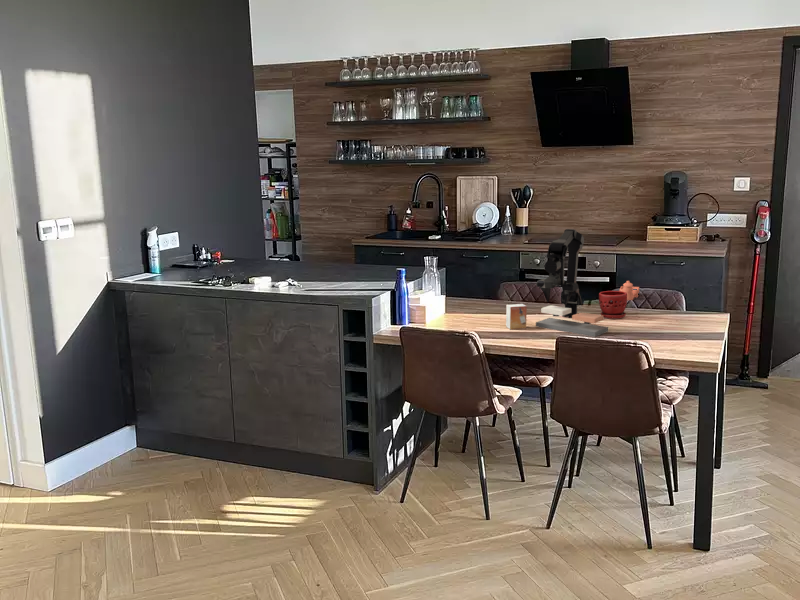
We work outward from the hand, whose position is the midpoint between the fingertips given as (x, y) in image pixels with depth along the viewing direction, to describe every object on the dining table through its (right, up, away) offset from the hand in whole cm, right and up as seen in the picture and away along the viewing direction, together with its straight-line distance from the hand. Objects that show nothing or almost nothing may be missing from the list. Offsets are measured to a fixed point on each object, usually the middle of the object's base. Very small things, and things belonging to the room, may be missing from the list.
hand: (556, 303), depth 360 cm
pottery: (+51, +3, +65) cm, 83 cm away
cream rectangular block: (0, -6, +1) cm, 6 cm away
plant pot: (+30, -7, +19) cm, 36 cm away
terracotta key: (+12, -9, -9) cm, 17 cm away
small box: (-18, -11, +1) cm, 22 cm away
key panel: (+6, -12, -3) cm, 13 cm away
